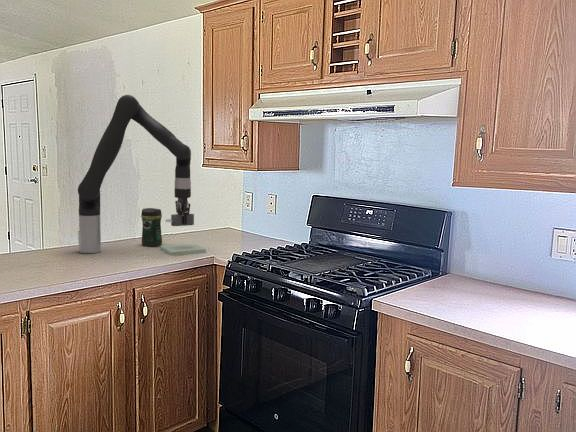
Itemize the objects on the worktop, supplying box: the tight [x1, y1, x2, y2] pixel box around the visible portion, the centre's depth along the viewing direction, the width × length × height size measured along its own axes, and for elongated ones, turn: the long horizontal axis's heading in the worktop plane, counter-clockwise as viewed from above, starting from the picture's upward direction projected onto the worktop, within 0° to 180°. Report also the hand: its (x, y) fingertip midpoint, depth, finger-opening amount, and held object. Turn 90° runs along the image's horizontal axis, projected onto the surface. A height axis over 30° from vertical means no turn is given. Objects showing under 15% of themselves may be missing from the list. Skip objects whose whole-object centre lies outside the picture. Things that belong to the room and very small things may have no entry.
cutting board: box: [159, 242, 207, 257], centre depth 250 cm, size 17×16×2 cm
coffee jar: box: [140, 207, 163, 247], centre depth 260 cm, size 10×8×19 cm
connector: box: [165, 213, 195, 227], centre depth 247 cm, size 13×4×5 cm, turn 122°
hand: (182, 223), depth 248 cm, fingers closed on connector, 4 cm apart
